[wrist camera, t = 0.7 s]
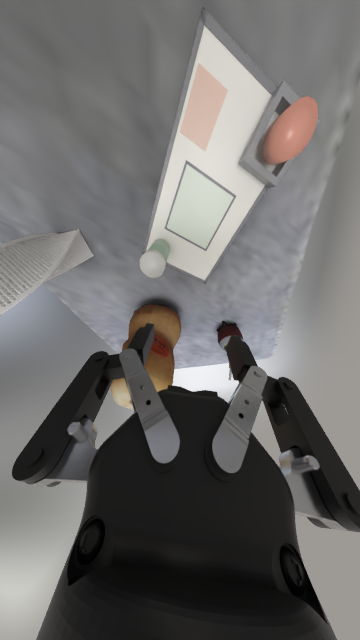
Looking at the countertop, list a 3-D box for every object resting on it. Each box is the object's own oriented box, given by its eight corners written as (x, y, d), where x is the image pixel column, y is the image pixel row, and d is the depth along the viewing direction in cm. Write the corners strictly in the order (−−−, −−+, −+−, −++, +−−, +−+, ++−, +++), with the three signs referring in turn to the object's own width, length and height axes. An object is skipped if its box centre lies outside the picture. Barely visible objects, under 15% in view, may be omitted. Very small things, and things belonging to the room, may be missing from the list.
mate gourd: (233, 316, 40) (251, 360, 29) (240, 331, 45) (258, 374, 34) (210, 324, 43) (218, 367, 32) (219, 338, 48) (229, 380, 37)
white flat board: (143, 252, 29) (138, 257, 27) (201, 15, 14) (205, -26, 11) (205, 282, 33) (206, 288, 31) (305, 125, 18) (324, 113, 15)
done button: (255, 153, 17) (265, 146, 15) (283, 101, 15) (300, 83, 12) (277, 172, 18) (290, 168, 16) (307, 126, 16) (327, 114, 13)
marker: (150, 252, 28) (137, 271, 21) (156, 233, 26) (142, 247, 18) (167, 260, 29) (159, 281, 22) (173, 242, 27) (168, 259, 19)
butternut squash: (190, 307, 39) (192, 404, 20) (170, 333, 47) (160, 420, 29) (144, 286, 35) (96, 384, 16) (132, 319, 43) (91, 408, 25)
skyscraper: (70, 265, 32) (-144, 386, 11) (45, 228, 27) (-421, 323, 6) (100, 260, 31) (-77, 384, 10) (79, 220, 26) (-347, 306, 5)
